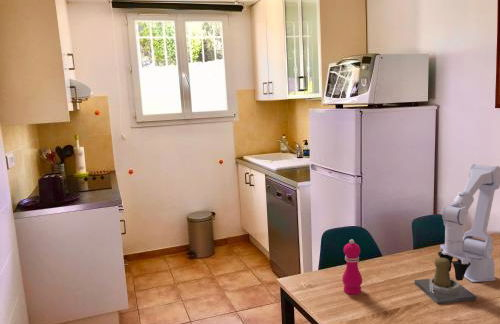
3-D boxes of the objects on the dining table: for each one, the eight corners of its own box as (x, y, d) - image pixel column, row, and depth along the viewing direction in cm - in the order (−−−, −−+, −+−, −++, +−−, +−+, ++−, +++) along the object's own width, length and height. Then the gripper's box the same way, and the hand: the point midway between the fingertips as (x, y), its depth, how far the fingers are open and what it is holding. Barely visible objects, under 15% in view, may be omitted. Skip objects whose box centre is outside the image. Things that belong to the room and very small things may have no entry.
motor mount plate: (449, 280, 153) (449, 272, 153) (476, 300, 138) (476, 290, 137) (414, 283, 152) (414, 274, 152) (437, 303, 137) (437, 294, 136)
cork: (453, 291, 141) (454, 262, 140) (435, 291, 142) (436, 261, 141) (448, 284, 147) (448, 255, 146) (430, 283, 148) (431, 255, 147)
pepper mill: (363, 287, 151) (362, 236, 148) (361, 296, 144) (361, 243, 142) (343, 285, 153) (342, 235, 151) (341, 294, 147) (340, 242, 144)
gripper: (432, 233, 150) (431, 268, 151) (454, 247, 135) (454, 285, 137) (450, 232, 150) (449, 267, 152) (474, 245, 136) (473, 283, 138)
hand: (453, 275), depth 145 cm, fingers open, 7 cm apart
